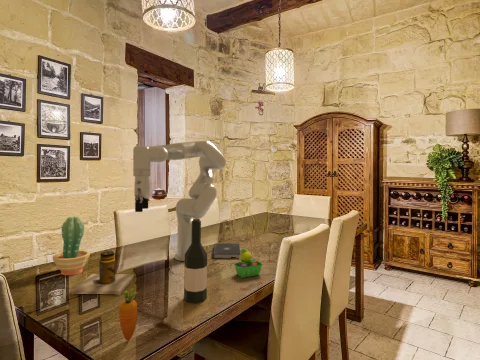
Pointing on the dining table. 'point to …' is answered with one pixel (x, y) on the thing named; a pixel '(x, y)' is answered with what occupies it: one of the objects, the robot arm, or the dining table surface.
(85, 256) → the potted cactus
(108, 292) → the board
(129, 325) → the carrot
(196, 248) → the wine bottle
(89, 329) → the dining table surface
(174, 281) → the dining table surface
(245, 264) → the fruit basket
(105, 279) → the condiment
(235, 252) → the book
